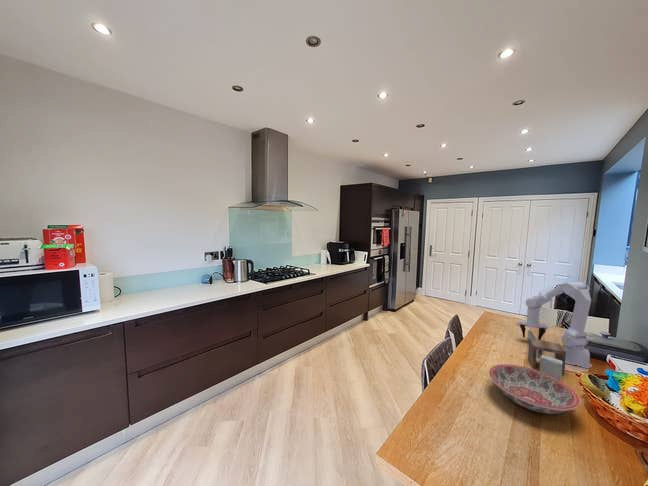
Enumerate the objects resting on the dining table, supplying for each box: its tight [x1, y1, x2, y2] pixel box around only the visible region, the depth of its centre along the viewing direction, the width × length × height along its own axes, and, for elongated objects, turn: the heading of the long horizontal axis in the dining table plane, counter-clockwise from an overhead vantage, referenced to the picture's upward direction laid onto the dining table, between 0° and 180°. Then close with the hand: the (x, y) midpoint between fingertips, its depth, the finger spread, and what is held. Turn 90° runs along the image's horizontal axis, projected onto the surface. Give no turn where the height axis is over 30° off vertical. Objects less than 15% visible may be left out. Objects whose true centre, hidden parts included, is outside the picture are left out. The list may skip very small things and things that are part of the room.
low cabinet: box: [527, 338, 566, 376], centre depth 131 cm, size 12×10×12 cm
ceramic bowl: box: [488, 363, 581, 415], centre depth 105 cm, size 29×29×8 cm
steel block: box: [526, 330, 543, 359], centre depth 151 cm, size 2×27×6 cm, turn 151°
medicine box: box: [538, 354, 563, 382], centre depth 123 cm, size 8×4×9 cm, turn 42°
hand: (531, 338), depth 157 cm, fingers open, 7 cm apart
